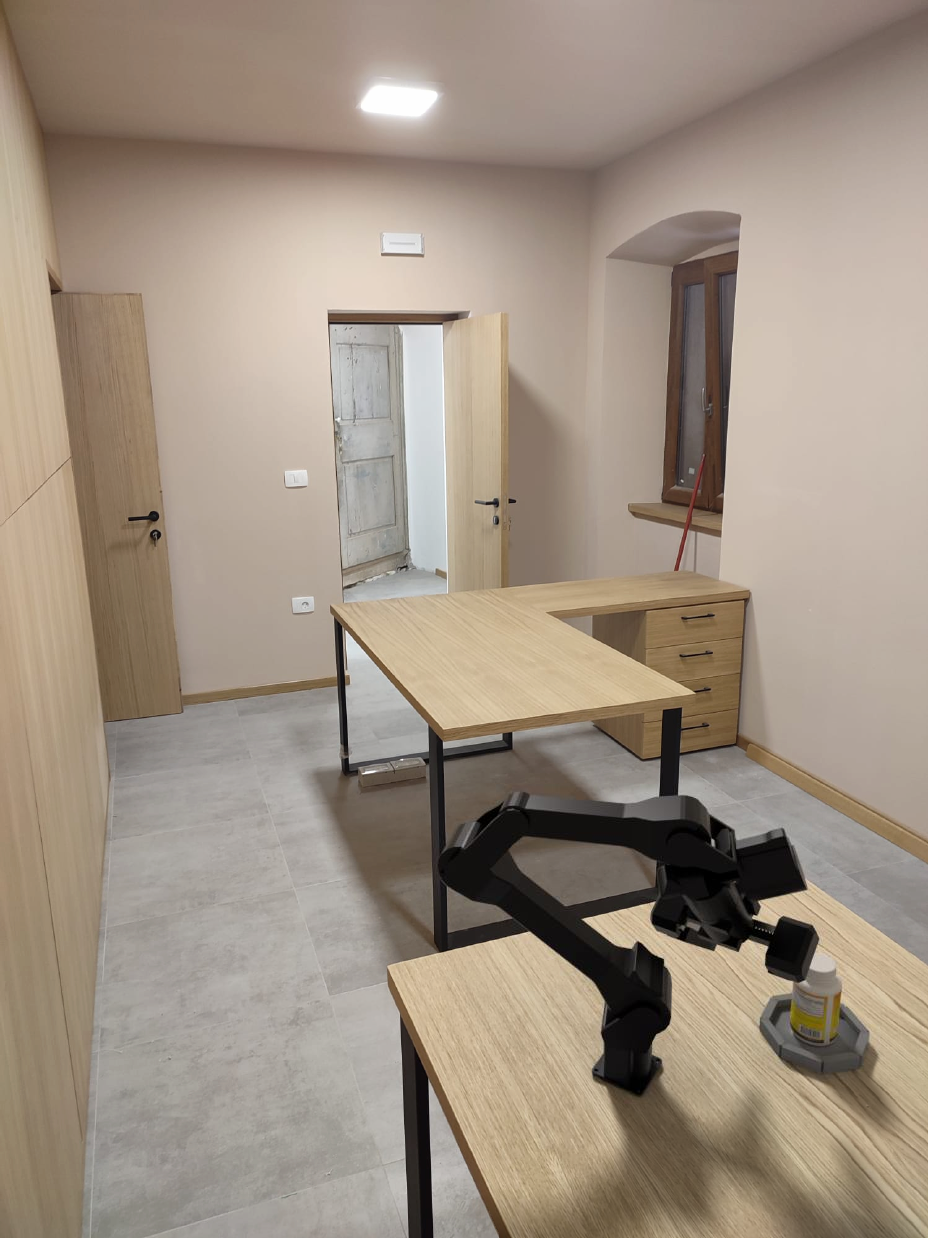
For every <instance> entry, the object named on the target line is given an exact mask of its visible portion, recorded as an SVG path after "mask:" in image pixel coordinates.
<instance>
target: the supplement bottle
mask: <svg viewBox="0 0 928 1238" xmlns="http://www.w3.org/2000/svg"><path fill="white" fill-rule="evenodd" d="M842 987H843V982H842V980H841V977H840V976H839V974H837V963H836V962H835V960H834V959H833V958H832V957H830V956H829V955H827V954H824V953H821V952H816V951H815V953H814V956H813V959H812V962H811V965H810V968H809V971H808V973H807V976H806V979H805V981H802V982H800V983H796V982H794V981H792V989H791V990H792V991H791V993H792V1003H791V1016H790V1027H791V1030H792V1032H793V1033H794V1035H795V1036H796V1037H797V1038H799V1039H800V1040H801V1041H803V1042H805V1043H807V1044H810V1045H814V1046H827V1045H830V1044H832V1043H833V1042H834V1041H835V1040H836V1038H837V1033H838V1023H839V1012H840V1003H841V998H842V990H843V988H842Z"/></svg>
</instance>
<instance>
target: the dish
mask: <svg viewBox="0 0 928 1238" xmlns="http://www.w3.org/2000/svg"><path fill="white" fill-rule="evenodd" d="M791 1003H792V992H789V993H783V994H777V995H772V996H770V998H769V1000H768V1001H767V1004H766V1005H765V1008H764V1009H763V1011H762V1013H761V1015H760V1017H759V1027H758V1028H759V1031H760V1032H761V1034H762V1035H763V1038H765V1039H766V1041H767V1042H768V1043H769V1045H770V1047H771V1048H772V1050H774V1052H775V1054H776V1055H777V1057H780V1059H783V1060H785V1061H787V1062H790V1063H793V1064H795V1065H797V1066H800V1067H802V1068H804V1069H807V1070H810V1071H812V1072H815V1073H818V1074H820V1075H821V1073H822V1074H823V1075H827V1074H833V1073H839V1072H845V1071H853V1070H858V1069H860V1068H862V1064H863V1061H864V1059H865V1056H866V1053H867V1050H868V1047H869V1045H870V1043H869V1042H870V1036H871V1035H870V1030H869V1029H868V1028H867V1026H865V1025H864V1023H862V1021H861V1020H860V1019H859V1018H858V1017H857V1015H856V1014H855V1013H854V1012H853V1011H852V1010H851V1009H850V1007H848V1006H847V1005H845V1003H841V1002H840V1012H839V1023H838V1033H837V1038H836V1040H835V1041H834V1042H833V1043H832V1044H830V1045H827V1046H814V1045H810V1044H807V1043H805V1042H803V1041H801V1040H800V1039H799V1038H797V1037H796V1036H795V1035H794V1033H793V1032H792V1030H791V1027H790V1016H791Z"/></svg>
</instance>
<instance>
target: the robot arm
mask: <svg viewBox="0 0 928 1238" xmlns="http://www.w3.org/2000/svg"><path fill="white" fill-rule="evenodd" d="M525 837H526V838H534V839H544V840H553V841H563V842H564V841H565V842H570V843H572V842H574V843H583V844H591V845H592V844H593V845H594V844H595V845H600V846H601V845H603V846H611V847H619V848H620V847H621V848H622V847H623V848H626V849H630V850H633V851H635V852H637V853H638V854H640V855H643V856H644V857H646V858H647V859H649V860H652V861H655V862H658V863H662V864H664V865H662V866H659V867H658V868H657V869H656V878H657V879H656V880H657V884H658V891H659V894H658V896H657V898H656V899H655V902H654V905H653V906H652V909H651V911H650V915H649V916H650V917H649V920H650V923H651V925H652V927H653V928H654V929H655V931H656V932H658V933H661V934H664V935H666V937H670V938H672V939H675V940H678V941H681V942H683V943H686V944H688V945H689V944H690V945H692V946H696V947H698V948H702V949H706V950H708V951H711V952H714V951H715V950H716V949H717V946H719V947H723V948H725V949H727V950H731V951H733V952H737V953H739V952H740V950H741V947H742V945H743V944H744V943H746V941H750V942H751V941H752V942H754V943H757V944H760V945H762V946H765V947H767V949H766V952H765V955H764V966H765V968H766V970H767V974H770V975H772V976H776V977H778V978H781V979H783V980H786V981H790V982H793V981H794V982H796V983H800V982H802V981H805V979H806V976H807V973H808V971H809V968H810V965H811V962H812V959H813V956H814V953H815V952H816V950H817V948H818V944H819V941H820V937H819V935H818V932H817V931H816V928H815V927H814V925H813V924H811V923H807V922H804V921H801V920H797V919H794V918H792V917H788V916H785V915H782V916H781V917H779V918H778V920H777V921H776V925H773V924H771V923H766V922H764V921H762V920H757V919H754V918H753V917H754V916H755V917H758V916H759V913H760V911H761V909H762V906H761V904H760V903H759V901H760V902H761V901H764V900H769V899H773V898H778V897H779V898H780V897H783V896H787V895H791V894H797V893H800V892H801V893H802V892H805V891H808V890H809V889H808V884H807V880H806V877H805V874H804V871H803V867H802V865H801V862H800V858H799V856H798V853H797V850H796V847H795V845H793V844H792V842H791V841H790V838H789V836H787V832H786V831H785V828H783V827H778V828H775V829H772V830H769V831H768V832H767V831H766V832H765V833H762V834H758V835H754V836H750V837H746V838H742V839H739V840H737V837H736V830H735V829H734V828H733V827H731V826H730V825H728V824H726V823H724V822H723V821H721V820H719V819H718V818H717V817H715V816H713V815H712V814H711V813H709V810H708V809H707V808H706V805H704V804H703V803H702V802H701V800H699V799H698V798H696V797H694V796H690V795H685V794H679V795H677V794H675V795H663V796H653V797H651V798H647V799H644V800H641V801H637V802H629V803H628V802H627V803H626V802H625V803H624V802H613V801H602V800H592V799H591V800H590V799H581V798H579V799H578V798H572V797H571V798H570V797H569V798H567V797H559V796H549V795H546V796H545V795H538V794H535V795H534V794H529V793H528V792H525V791H523V790H522V791H520V790H519V791H514V792H512V793H509V794H508V795H507V796H506V797H505V798H504V799H503V800H502V801H501V802H500V803H497V804H496V805H495V806H493V807H490V808H489V809H487V810H485V812H484V813H482V814H481V815H479V816H478V817H477V818H476V819H475V820H474V821H471V822H469V821H468V822H464V823H461V824H459V825H458V826H456V828H454V830H453V831H452V833H451V835H450V837H449V839H448V841H447V843H445V844H446V845H445V846H444V848H443V850H442V852H441V854H440V856H439V858H438V861H437V870H438V877H439V878H440V881H441V882H442V883H443V884H444V885H445V886H446V887H447V888H449V889H450V890H452V891H454V892H455V893H457V894H459V895H461V896H462V897H464V898H466V899H468V900H470V901H471V902H476V903H480V904H486V905H490V906H495V907H497V908H498V909H500V910H502V911H503V912H504V913H505V914H507V916H509V917H510V918H512V920H514V921H515V922H517V923H518V924H520V925H521V926H522V927H523V928H525V929H526V930H527V931H528V932H529V933H531V934H532V935H533V936H535V937H536V938H537V939H538V940H539V941H541V942H542V943H543V944H545V945H546V946H547V947H548V948H550V949H551V950H552V951H553V952H555V953H556V954H557V955H559V956H560V957H561V959H564V960H565V961H566V962H568V963H569V964H570V965H571V966H573V967H574V968H576V970H578V972H580V973H582V975H584V976H585V977H586V978H588V979H589V980H591V981H592V982H593V984H594V985H595V987H596V988H597V991H598V992H599V994H600V995H601V998H602V999H603V1001H604V1005H603V1012H602V1020H601V1028H600V1035H601V1036H600V1037H601V1039H602V1040H603V1053H602V1055H601V1056H600V1057H599V1058H598V1060H597V1061H596V1062H595V1064H594V1065H593V1067H592V1068H591V1075H593V1076H594V1077H595V1078H598V1079H600V1080H602V1081H605V1082H607V1083H609V1084H612V1085H613V1086H616V1087H618V1088H620V1089H622V1090H624V1091H626V1092H628V1093H631V1094H633V1095H634V1096H637V1097H642V1096H644V1093H646V1091H647V1089H648V1087H649V1086H650V1085H651V1083H652V1081H653V1080H654V1078H655V1076H657V1075H656V1074H657V1073H658V1071H659V1070H660V1069H661V1067H662V1066H663V1060H662V1058H660V1057H658V1056H656V1055H654V1054H653V1042H654V1040H655V1039H656V1036H657V1035H658V1034H661V1033H663V1032H664V1031H665V1030H667V1028H668V1027H669V1026H670V1024H671V1021H672V1007H673V1006H672V1004H673V1003H672V1002H673V1001H672V999H673V979H672V976H671V975H672V974H671V972H670V970H669V969H668V968H667V966H666V965H665V958H663V957H660V956H658V955H656V954H655V953H652V952H651V951H650V950H649V949H648V947H646V946H645V944H643V943H642V942H641V941H637V940H636V942H634V944H633V946H632V947H631V948H630V947H625V946H624V947H622V946H619V945H616V944H614V943H612V941H610V939H608V938H606V936H604V935H603V934H601V933H600V932H598V931H597V930H596V929H595V928H593V927H592V926H591V925H589V924H588V923H587V922H586V921H585V920H583V919H582V918H581V917H580V916H578V915H577V914H576V913H574V912H573V911H572V910H571V909H570V908H568V907H567V906H565V904H563V903H562V902H561V901H559V900H558V899H557V898H555V897H554V896H552V895H551V893H549V892H548V891H547V890H545V889H544V888H542V887H541V886H540V885H538V884H537V883H536V882H535V881H534V880H533V879H532V878H531V877H529V876H527V875H526V874H524V873H523V872H522V870H521V869H520V868H519V867H518V865H517V863H516V861H515V859H514V858H513V856H512V854H511V852H510V849H511V848H512V847H513V846H514V844H516V843H517V842H519V841H520V840H521V839H523V838H525ZM712 840H713V844H712Z"/></svg>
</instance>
